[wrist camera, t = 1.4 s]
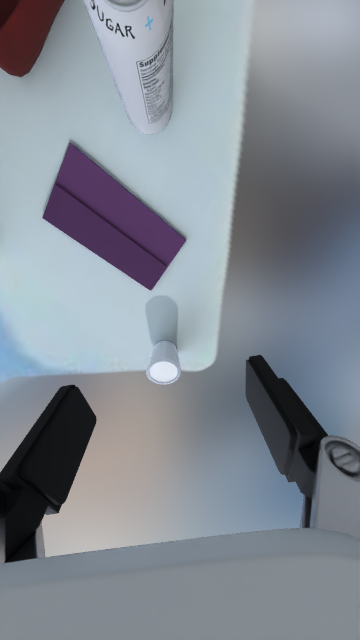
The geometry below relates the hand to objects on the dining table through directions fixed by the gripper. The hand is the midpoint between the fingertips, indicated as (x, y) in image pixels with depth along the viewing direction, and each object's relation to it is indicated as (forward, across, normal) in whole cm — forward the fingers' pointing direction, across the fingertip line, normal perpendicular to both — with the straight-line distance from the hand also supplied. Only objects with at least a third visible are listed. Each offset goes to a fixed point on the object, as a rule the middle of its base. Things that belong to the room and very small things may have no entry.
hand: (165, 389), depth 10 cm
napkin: (+26, +7, -9) cm, 28 cm away
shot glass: (+26, +4, +16) cm, 31 cm away
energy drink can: (+26, -2, -22) cm, 34 cm away
